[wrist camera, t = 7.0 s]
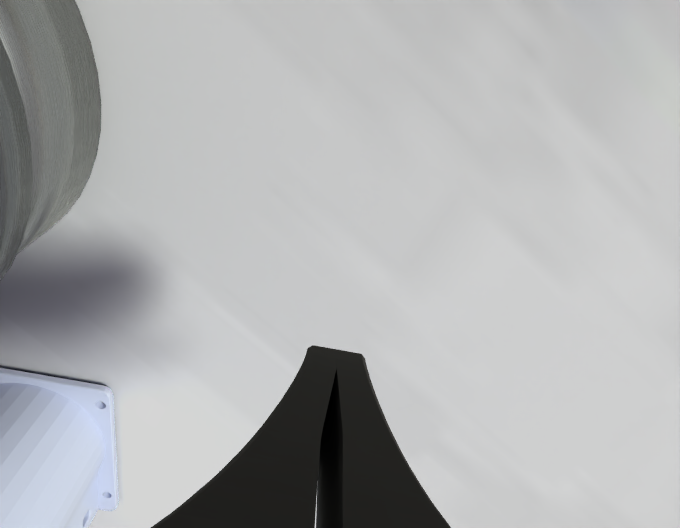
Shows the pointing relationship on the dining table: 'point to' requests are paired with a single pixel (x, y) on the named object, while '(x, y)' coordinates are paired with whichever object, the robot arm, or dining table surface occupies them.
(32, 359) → the dining table surface
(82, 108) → the cooker pot
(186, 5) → the dining table surface
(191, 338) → the dining table surface
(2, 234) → the cooker lid
